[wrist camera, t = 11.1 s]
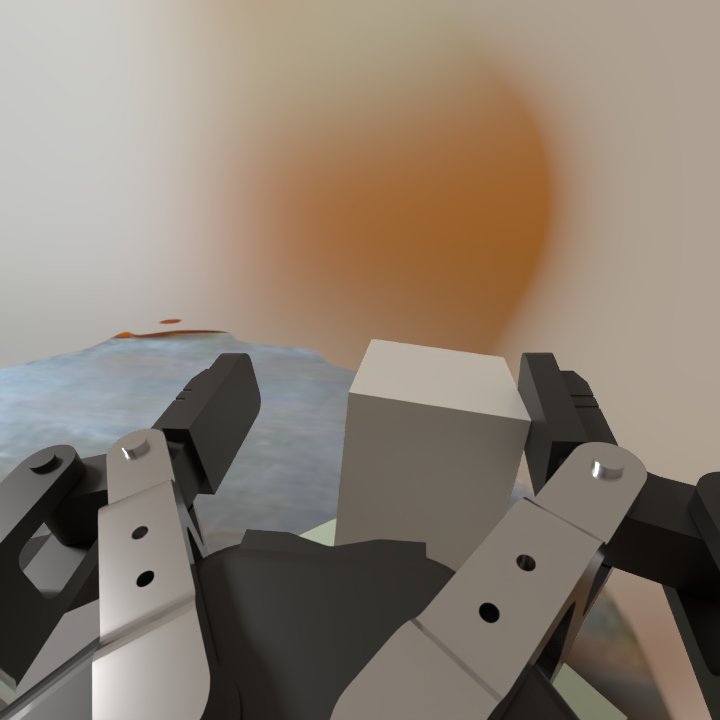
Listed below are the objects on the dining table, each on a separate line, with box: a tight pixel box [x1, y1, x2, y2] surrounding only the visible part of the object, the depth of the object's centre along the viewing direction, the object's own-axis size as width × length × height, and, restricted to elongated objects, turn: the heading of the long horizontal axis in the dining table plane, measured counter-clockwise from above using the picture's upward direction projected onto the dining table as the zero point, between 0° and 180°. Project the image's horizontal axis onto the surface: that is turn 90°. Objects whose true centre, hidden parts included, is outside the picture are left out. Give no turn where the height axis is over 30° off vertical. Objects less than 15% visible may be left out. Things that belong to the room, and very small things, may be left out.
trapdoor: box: [14, 518, 627, 720], centre depth 16 cm, size 17×15×4 cm
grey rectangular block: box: [334, 339, 531, 572], centre depth 15 cm, size 4×4×12 cm
